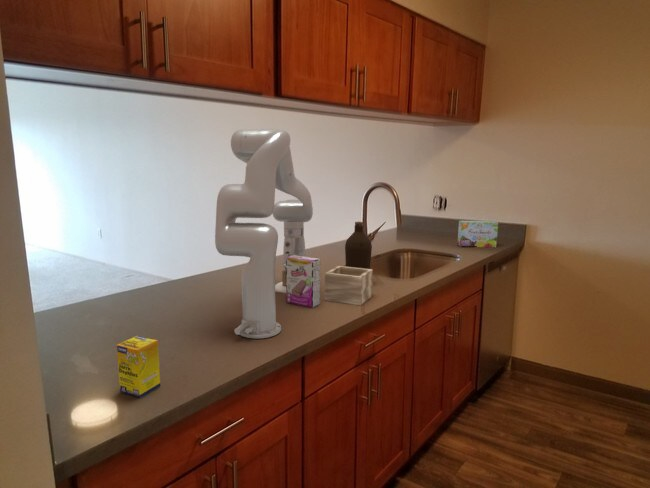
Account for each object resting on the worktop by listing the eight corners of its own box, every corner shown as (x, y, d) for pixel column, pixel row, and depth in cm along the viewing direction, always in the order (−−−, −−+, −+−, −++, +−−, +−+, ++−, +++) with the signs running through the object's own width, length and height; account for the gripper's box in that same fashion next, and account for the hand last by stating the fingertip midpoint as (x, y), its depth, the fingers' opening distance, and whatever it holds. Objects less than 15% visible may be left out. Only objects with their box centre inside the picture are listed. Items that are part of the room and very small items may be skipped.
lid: (303, 296, 168) (303, 277, 166) (268, 291, 174) (267, 273, 172) (319, 286, 180) (319, 269, 179) (285, 282, 186) (285, 265, 185)
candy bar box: (285, 303, 159) (285, 257, 155) (293, 299, 163) (293, 254, 160) (312, 308, 153) (313, 260, 150) (320, 304, 157) (320, 258, 154)
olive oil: (376, 284, 184) (378, 222, 179) (357, 288, 177) (358, 224, 172) (357, 278, 191) (359, 219, 187) (339, 282, 185) (339, 221, 180)
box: (360, 305, 156) (361, 277, 155) (324, 300, 162) (325, 273, 160) (371, 295, 168) (372, 269, 166) (338, 291, 173) (338, 265, 171)
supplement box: (119, 392, 97) (115, 344, 95) (140, 380, 103) (137, 334, 101) (140, 398, 95) (136, 349, 93) (161, 386, 100) (158, 339, 98)
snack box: (459, 247, 262) (461, 221, 259) (457, 245, 267) (458, 220, 264) (496, 247, 262) (498, 221, 259) (493, 245, 267) (495, 220, 264)
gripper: (291, 236, 164) (291, 284, 167) (312, 229, 179) (312, 274, 183) (273, 234, 167) (274, 282, 170) (295, 228, 182) (295, 272, 186)
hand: (294, 277), depth 176 cm, fingers open, 6 cm apart
